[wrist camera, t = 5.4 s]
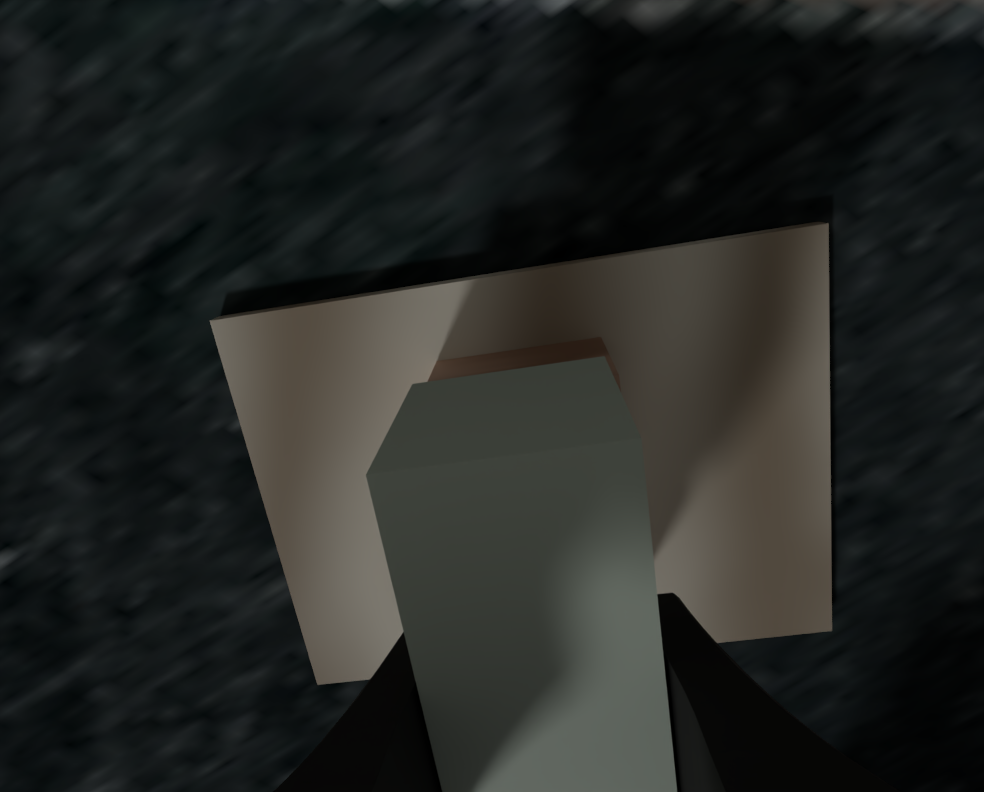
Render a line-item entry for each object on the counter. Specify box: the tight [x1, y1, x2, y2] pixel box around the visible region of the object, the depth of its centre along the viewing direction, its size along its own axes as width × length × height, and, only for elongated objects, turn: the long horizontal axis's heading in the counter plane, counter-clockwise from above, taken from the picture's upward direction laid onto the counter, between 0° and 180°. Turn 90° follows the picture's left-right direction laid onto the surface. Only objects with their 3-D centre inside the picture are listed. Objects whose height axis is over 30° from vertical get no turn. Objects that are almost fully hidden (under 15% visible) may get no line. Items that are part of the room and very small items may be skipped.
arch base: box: [210, 222, 832, 685], centre depth 18 cm, size 16×12×4 cm
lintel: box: [366, 356, 677, 792], centre depth 12 cm, size 4×10×4 cm, turn 9°
